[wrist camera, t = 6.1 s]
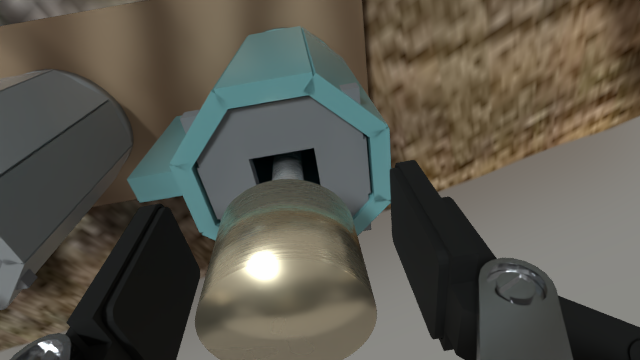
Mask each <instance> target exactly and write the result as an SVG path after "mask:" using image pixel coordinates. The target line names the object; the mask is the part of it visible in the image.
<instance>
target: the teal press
mask: <svg viewBox="0 0 640 360" xmlns="http://www.w3.org/2000/svg"><path fill="white" fill-rule="evenodd" d="M299 150H301V152H302V165H303V177H304V181H309V182H313V183H316V184H318V185H321V186H323V187H325V188H327V189H329V190H330V191H332V192H333V193H335V194H336V195H337V196H338V197H339V198H340V199H342V201H343V202H344V203H345V204H346V206H347V207H348V209H349V211H350V213H351V215H352V218H353V222H354V225H355V229H356V233H357V236H358V235H359V234H360V233H361V232H362V231H366V230H371V222H372V221H373V220H374V219H375V218H376V217H377V216H378V215H379V214H380V213H381V212H382V211H383V210H384V209H385V208H386V207H387V206H388V205H389V204H390V203H391V201H390V200H391V195H390V169H391V157H390V131H389V127H388V125H387V123H386V122H385V120H384V119H383V117H382V116H381V115H380V113H379V112H378V110H377V109H376V107H375V106H374V104H373V103H372V101H371V100H370V98H369V97H368V95H367V94H366V92H365V91H364V89H363V88H362V86H361V85H360V83H359V82H358V80H357V79H356V77H355V76H354V74H353V73H352V71H351V70H350V68H349V67H348V65H347V64H346V62H345V61H344V59H343V58H342V57H341V56H339V55H338V54H337V53H336V52H334V51H333V50H332V49H331V48H329V46H328V45H327V44H326V43H324V42H323V41H322V40H321V39H320V38H318V37H317V36H315V35H313V34H311V33H310V32H309V31H308V30H306V29H305V28H304V27H302V28H301V27H300V26H297V27H291V28H290V27H281V28H273V29H269V30H266V31H264V32H261V33H257V34H251V35H248V36H247V37H246V39H245V40H244V42H243V43H242V45H241V46H240V48H239V49H238V51H237V52H236V54H235V55H234V57H233V58H232V60H231V61H230V63H229V64H228V66H227V68H226V69H225V71H224V72H223V74H222V75H221V77H220V78H219V80H218V81H217V83H216V84H215V86H214V87H213V89H212V90H211V92H210V94H209V95H208V97H207V99H206V101H205V102H204V104H203V106H202V108H201V109H200V110H194V111H188V112H184V113H183V115H181V116H176V117H175V118H174V120H173V121H172V122H171V123H170V125H169V126H168V127H167V129H166V130H165V131H164V132H163V134H162V135H161V136H160V137H159V139H158V140H157V141H156V143H155V144H154V145H153V146H152V148H151V149H150V150H149V151H148V153H147V154H146V155H145V156H144V158H143V159H142V160H141V162H140V163H139V164H138V165H137V167H136V168H135V169H134V170H133V172H132V173H131V174H130V176H129V177H128V178H127V181H128V183H129V184H130V186H131V188H132V190H133V192H134V193H135V195H136V197H137V199H138V201H139V203H142V202H147V201H153V200H159V199H165V198H171V197H176V196H182V195H183V197H184V200H185V202H186V204H187V206H188V208H189V210H190V213H191V215H192V217H193V219H194V221H195V224H196V226H197V228H198V230H199V232H200V233H201V232H202V235H204V236H206V237H208V238H211V239H213V240H215V241H216V237H217V233H218V229H219V226H220V222H221V219H222V216H223V214H224V212H225V210H226V209H227V207H228V206H229V204H230V203H231V202H232V201H233V200H234V199H235V198H236V197H237V196H238V195H239V194H241V193H242V192H244V191H245V190H247V189H249V188H251V187H253V186H255V185H258V184H261V183H263V182H267V181H272V173H273V160H274V155H276V154H282V153H288V152H293V151H299Z"/></svg>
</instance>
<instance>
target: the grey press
mask: <svg viewBox="0 0 640 360" xmlns="http://www.w3.org/2000/svg"><path fill="white" fill-rule="evenodd" d="M133 139H134V138H133V130H132V127H131V124H130V121H129V119H128V117H127V115H126V113H125V111H124V110H123V108H122V107H121V106H120V104H119V103H118V102H117V101H116V100H115V99H114V97H113V96H111V95H110V94H109V93H108V92H107V91H106V90H104V89H103V88H102V87H100V86H99V85H98V84H96V83H94V82H93V81H91V80H89V79H87V78H85V77H83V76H80V75H78V74H75V73H72V72H68V71H64V70H58V69H40V70H35V71H31V72H28V73H25V74H23V75H17V76H12V77H6V78H1V79H0V310H2V309H5V308H7V307H8V306H9V304H10V303H11V302H12V301H13V300H14V299H15V297H16V296H17V295H18V294H19V293H20V291H21V290H22V289H26V288H29V287H30V286H31V285H32V283H33V282H34V281H35V280H36V279H37V276H36V275H35V274H36V272H37V271H38V270H39V269H40V268H41V266H42V265H43V264H44V263H45V262H46V261H47V259H48V258H49V257H50V256H51V255H52V253H53V252H54V251H55V250H56V249H57V248H58V246H59V245H60V244H61V243H62V242H63V240H64V239H65V238H66V237H67V236H68V234H69V233H70V232H71V231H72V230H73V229H74V227H75V226H76V225H77V224H78V223H79V221H80V220H81V219H82V218H83V217H84V216H85V214H86V213H87V212H88V211H89V210H90V208H91V207H92V206H93V205H94V204H95V202H96V201H97V200H98V199H99V198H100V197H101V195H102V194H103V193H104V192H105V191H106V189H107V188H108V187H109V186H110V185H111V184H112V182H113V181H114V180H115V179H116V177H117V175H118V173H119V171H120V169H121V167H122V165H123V164H124V163H125V162H126V161H127V159H128V158H129V156H130V154H131V152H132V148H133Z"/></svg>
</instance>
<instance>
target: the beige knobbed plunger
mask: <svg viewBox="0 0 640 360" xmlns="http://www.w3.org/2000/svg"><path fill="white" fill-rule="evenodd" d="M376 319H377V310H376V304H375V300H374V296H373V293H372V289H371V285H370V281H369V278H368V274H367V270H366V267H365V263H364V259H363V255H362V252H361V248H360V244H359V240H358V237H357V233H356V229H355V225H354V222H353V218H352V215H351V213H350V211H349V209H348V207H347V206H346V204H345V203H344V202H343V201H342V199H340V198H339V197H338V196H337V195H336V194H335V193H333V192H332V191H330V190H329V189H327V188H325V187H323V186H321V185H318V184H316V183H313V182H309V181H304V177H303V165H302V152H301V150H299V151H293V152H288V153H282V154H276V155H274V160H273V173H272V181H267V182H263V183H261V184H258V185H255V186H253V187H251V188H249V189H247V190H245V191H244V192H242V193H241V194H239V195H238V196H237V197H236V198H235V199H234V200H233V201H232V202H231V203H230V204H229V206H228V207H227V209H226V210H225V212H224V214H223V216H222V219H221V222H220V226H219V229H218V233H217V237H216V241H215V244H214V248H213V252H212V255H211V259H210V263H209V266H208V270H207V274H206V278H205V281H204V285H203V289H202V292H201V296H200V300H199V304H198V307H197V311H196V316H195V327H196V332H197V335H198V337H199V339H200V341H201V342H202V344H203V345H204V346H205V348H206V349H207V350H208V351H209V352H210V353H212V354H213V355H214V356H216V357H217V358H218V359H220V360H343V359H344V358H346V357H348V356H350V355H351V354H352V353H354V352H355V351H356V350H357V349H359V348H360V347H361V346H362V345H363V344H364V343H365V342H366V341H367V339H368V338H369V336H370V335H371V333H372V331H373V329H374V327H375V324H376Z"/></svg>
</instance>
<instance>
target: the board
mask: <svg viewBox="0 0 640 360" xmlns="http://www.w3.org/2000/svg"><path fill="white" fill-rule="evenodd" d="M297 26H300V27H301V28H302V27H304V28H305V29H306V30H308V31H309V32H310V33H311V34H313V35H315V36H317V37H318V38H320V39H321V40H322V41H323V42H324V43H326V44H327V45H328V46H329V48H331V49H332V50H333V51H334V52H336V53H337V54H338V55H339V56H341V57H342V58H343V59H344V61H345V62H346V64H347V65H348V67H349V68H350V70H351V71H352V73H353V74H354V76H355V77H356V79H357V80H358V82H359V83H360V85H361V86H362V88H363V89H364V91H365V92H366V94H367V95H368V97H369V94H368V80H367V66H366V52H365V38H364V24H363V10H362V0H146V1H140V2H135V3H129V4H123V5H118V6H112V7H106V8H101V9H95V10H89V11H84V12H78V13H72V14H67V15H61V16H55V17H50V18H44V19H38V20H33V21H27V22H21V23H16V24H10V25H5V26H0V79H1V78H6V77H12V76H17V75H23V74H25V73H28V72H31V71H35V70H40V69H58V70H64V71H68V72H72V73H75V74H78V75H80V76H83V77H85V78H87V79H89V80H91V81H93V82H94V83H96V84H98V85H99V86H100V87H102V88H103V89H104V90H106V91H107V92H108V93H109V94H110V95H111V96H113V97H114V99H115V100H116V101H117V102H118V103H119V104H120V106H121V107H122V108H123V110H124V111H125V113H126V115H127V117H128V119H129V121H130V124H131V127H132V130H133V138H134V139H133V148H132V152H131V154H130V156H129V158H128V159H127V161H126V162H125V163H124V164H123V165H122V167H121V169H120V171H119V173H118V175H117V177H116V179H115V180H114V181H113V182H112V184H111V185H110V186H109V187H108V188H107V189H106V191H105V192H104V193H103V194H102V195H101V197H100V198H99V199H98V200H97V201H96V202H95V204H94V205H93V206H92V207H96V206H101V205H107V204H113V203H119V202H125V201H130V200H136V199H137V197H136V195H135V193H134V192H133V190H132V188H131V186H130V184H129V183H128V181H127V178H128V177H129V176H130V174H131V173H132V172H133V170H134V169H135V168H136V167H137V165H138V164H139V163H140V162H141V160H142V159H143V158H144V156H145V155H146V154H147V153H148V151H149V150H150V149H151V148H152V146H153V145H154V144H155V143H156V141H157V140H158V139H159V137H160V136H161V135H162V134H163V132H164V131H165V130H166V129H167V127H168V126H169V125H170V123H171V122H172V121H173V120H174V118H175V117H176V116H181V115H183V113H184V112H188V111H194V110H200V109H201V108H202V106H203V104H204V102H205V101H206V99H207V97H208V95H209V94H210V92H211V90H212V89H213V87H214V86H215V84H216V83H217V81H218V80H219V78H220V77H221V75H222V74H223V72H224V71H225V69H226V68H227V66H228V64H229V63H230V61H231V60H232V58H233V57H234V55H235V54H236V52H237V51H238V49H239V48H240V46H241V45H242V43H243V42H244V40H245V39H246V37H247V36H248V35H251V34H257V33H261V32H264V31H266V30H269V29H273V28H281V27H290V28H291V27H297Z"/></svg>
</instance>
